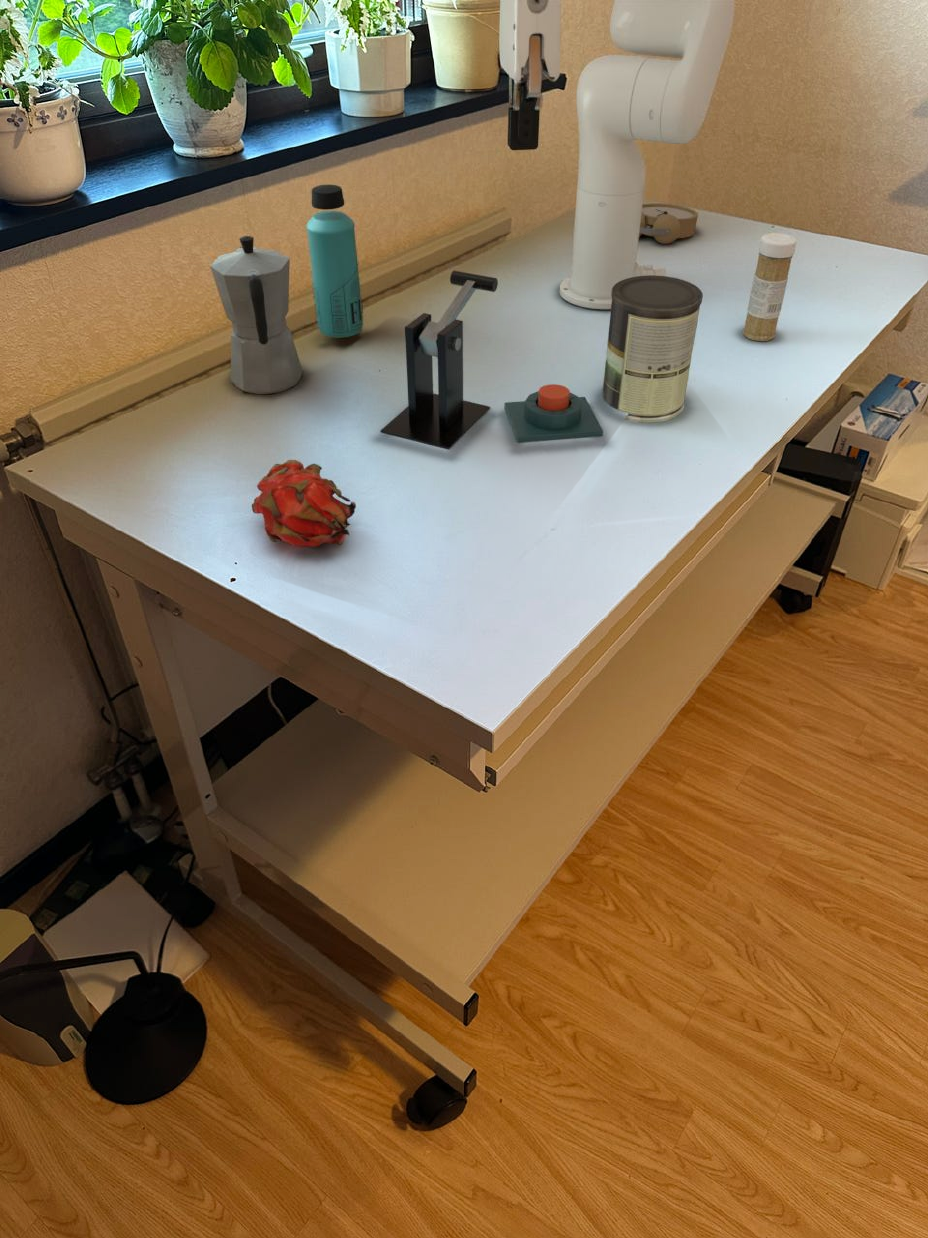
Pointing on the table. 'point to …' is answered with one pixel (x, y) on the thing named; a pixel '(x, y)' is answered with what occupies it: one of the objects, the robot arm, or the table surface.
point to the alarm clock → (667, 222)
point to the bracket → (428, 412)
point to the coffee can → (650, 346)
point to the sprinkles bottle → (769, 286)
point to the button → (553, 397)
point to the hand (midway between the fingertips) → (522, 147)
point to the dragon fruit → (302, 506)
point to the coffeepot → (258, 318)
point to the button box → (552, 420)
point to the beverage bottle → (334, 265)
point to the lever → (454, 307)
